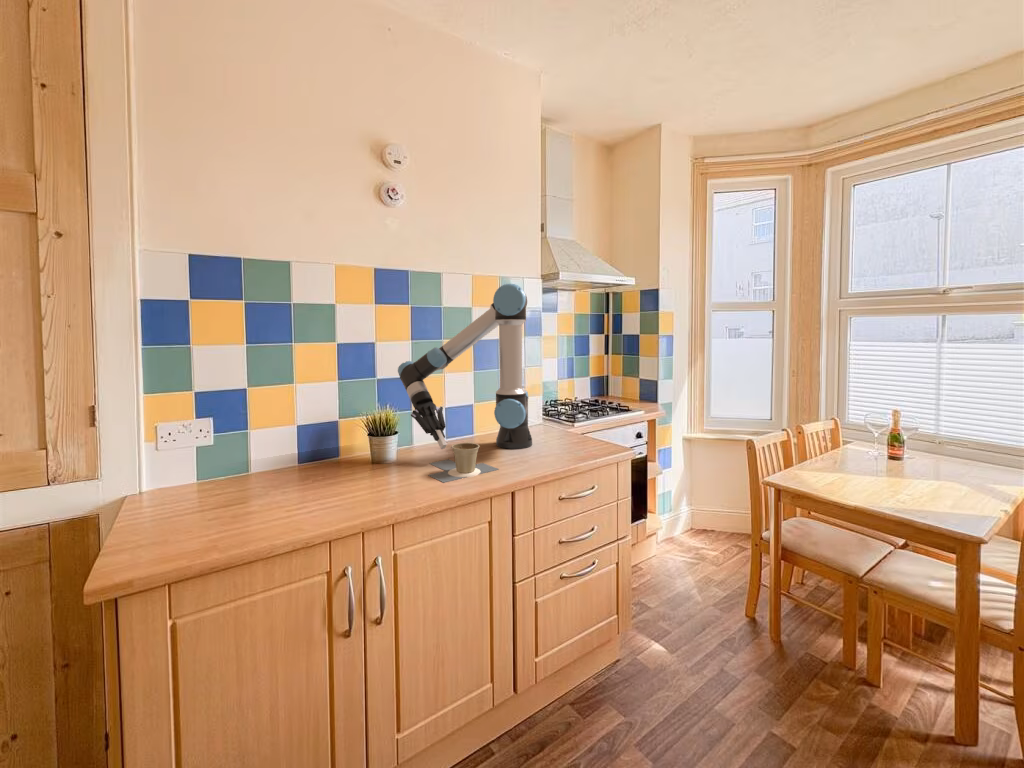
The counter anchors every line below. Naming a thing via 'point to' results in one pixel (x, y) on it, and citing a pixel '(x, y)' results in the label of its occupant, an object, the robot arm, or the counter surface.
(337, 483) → the counter surface
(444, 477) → the T mat
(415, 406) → the robot arm
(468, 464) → the flower pot
